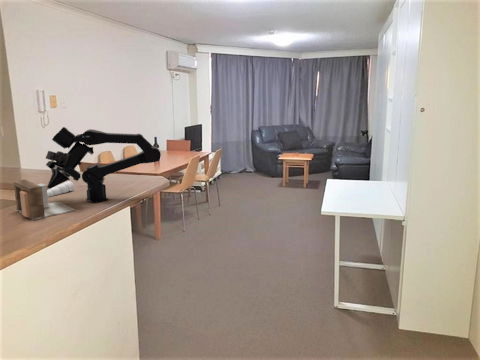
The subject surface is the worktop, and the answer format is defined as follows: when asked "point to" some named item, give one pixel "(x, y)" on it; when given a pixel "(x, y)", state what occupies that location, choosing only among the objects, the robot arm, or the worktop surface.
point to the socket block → (37, 201)
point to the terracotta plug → (26, 203)
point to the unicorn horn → (60, 189)
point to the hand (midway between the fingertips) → (48, 188)
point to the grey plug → (44, 195)
